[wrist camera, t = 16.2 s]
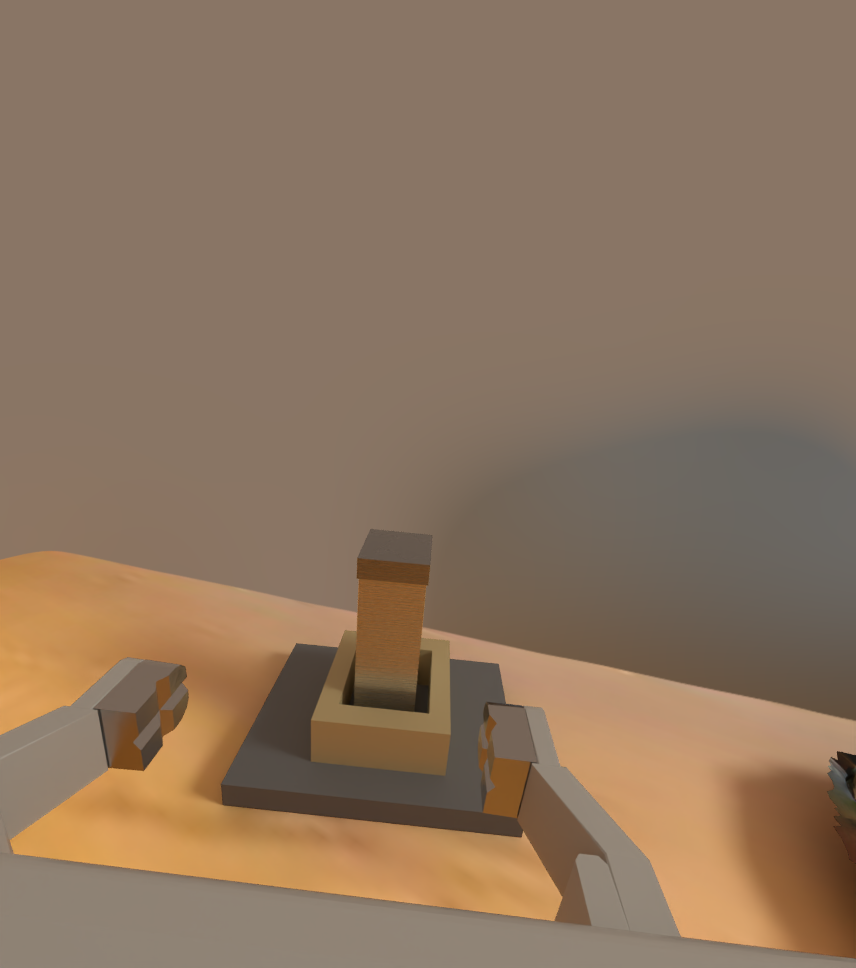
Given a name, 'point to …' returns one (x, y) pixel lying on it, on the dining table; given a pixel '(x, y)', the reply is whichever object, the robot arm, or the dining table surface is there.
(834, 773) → the baking tray
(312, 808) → the keeper plate
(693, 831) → the dining table surface
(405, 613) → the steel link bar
